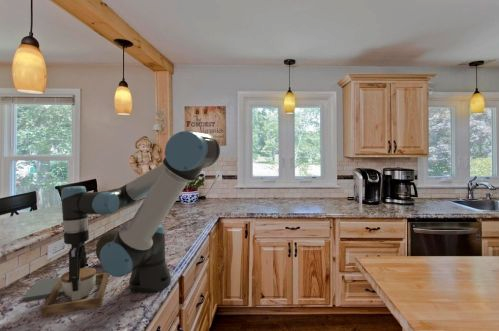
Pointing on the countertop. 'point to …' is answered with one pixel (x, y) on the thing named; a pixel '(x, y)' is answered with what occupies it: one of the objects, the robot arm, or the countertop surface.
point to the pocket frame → (74, 306)
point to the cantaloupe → (105, 241)
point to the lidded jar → (86, 281)
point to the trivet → (43, 289)
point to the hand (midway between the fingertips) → (79, 292)
